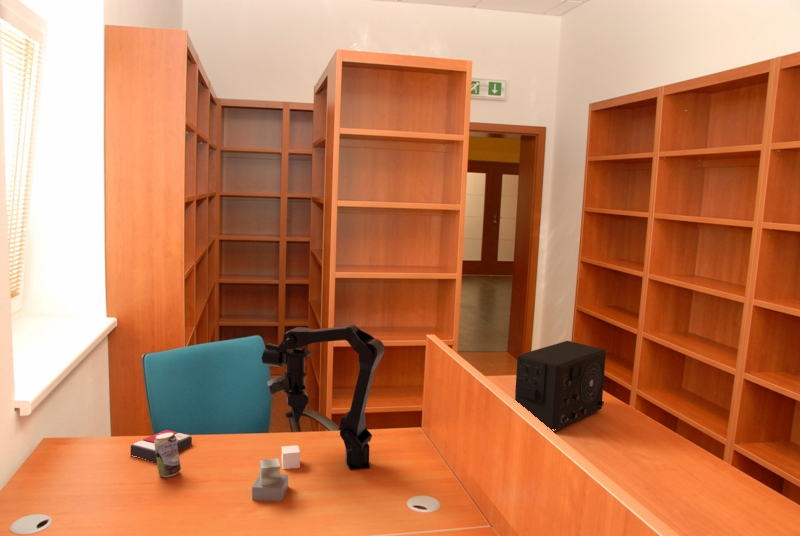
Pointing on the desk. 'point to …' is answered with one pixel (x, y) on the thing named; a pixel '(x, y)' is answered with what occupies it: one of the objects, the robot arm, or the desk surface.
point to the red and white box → (147, 446)
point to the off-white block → (290, 457)
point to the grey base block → (270, 490)
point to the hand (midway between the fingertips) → (294, 416)
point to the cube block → (269, 472)
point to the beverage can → (167, 454)
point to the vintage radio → (561, 382)
